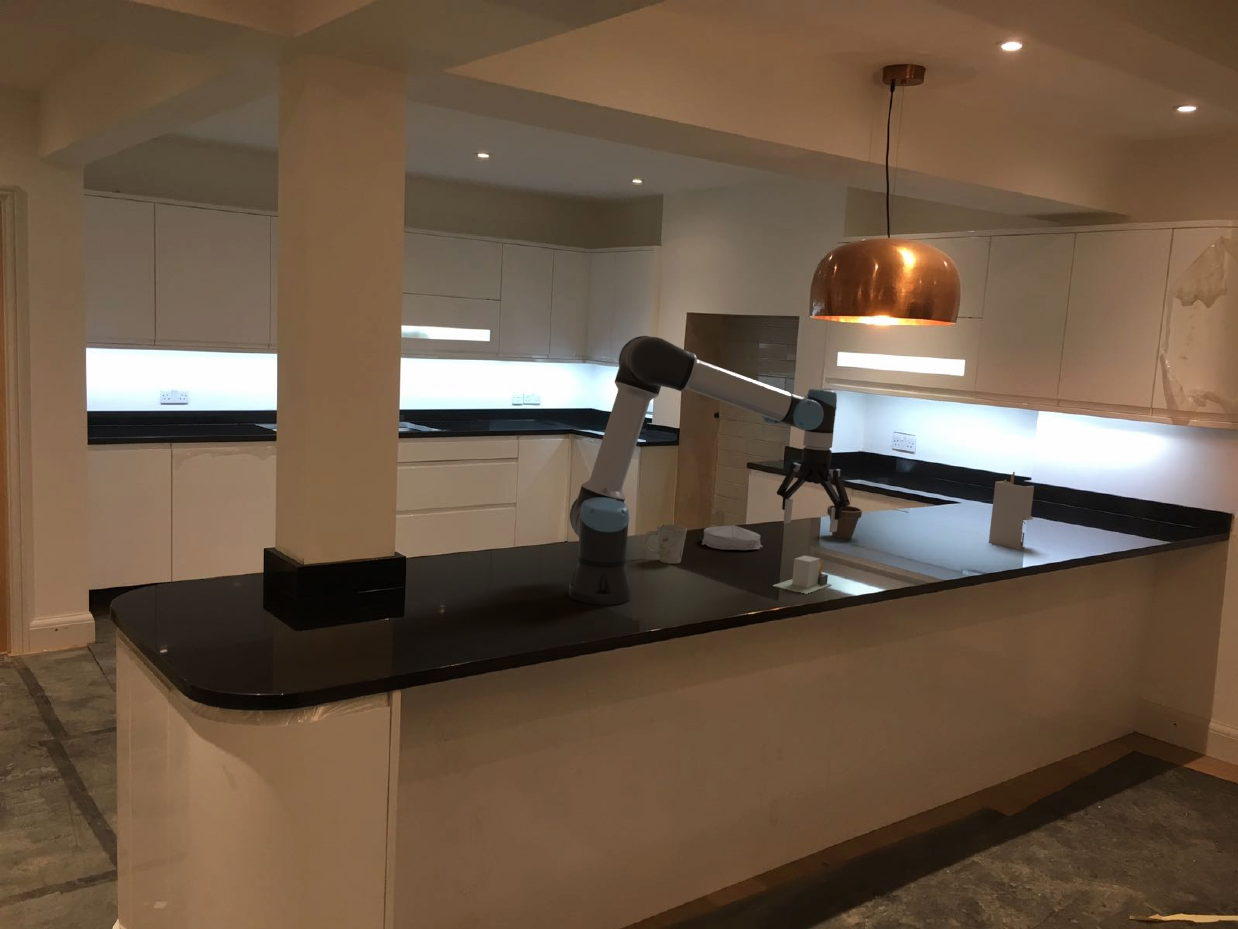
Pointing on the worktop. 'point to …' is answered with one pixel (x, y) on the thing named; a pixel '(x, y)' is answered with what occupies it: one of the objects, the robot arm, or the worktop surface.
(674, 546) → the mug
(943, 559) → the worktop surface
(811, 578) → the plug housing
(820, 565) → the header pins
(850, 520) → the flower pot
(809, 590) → the board
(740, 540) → the food container
